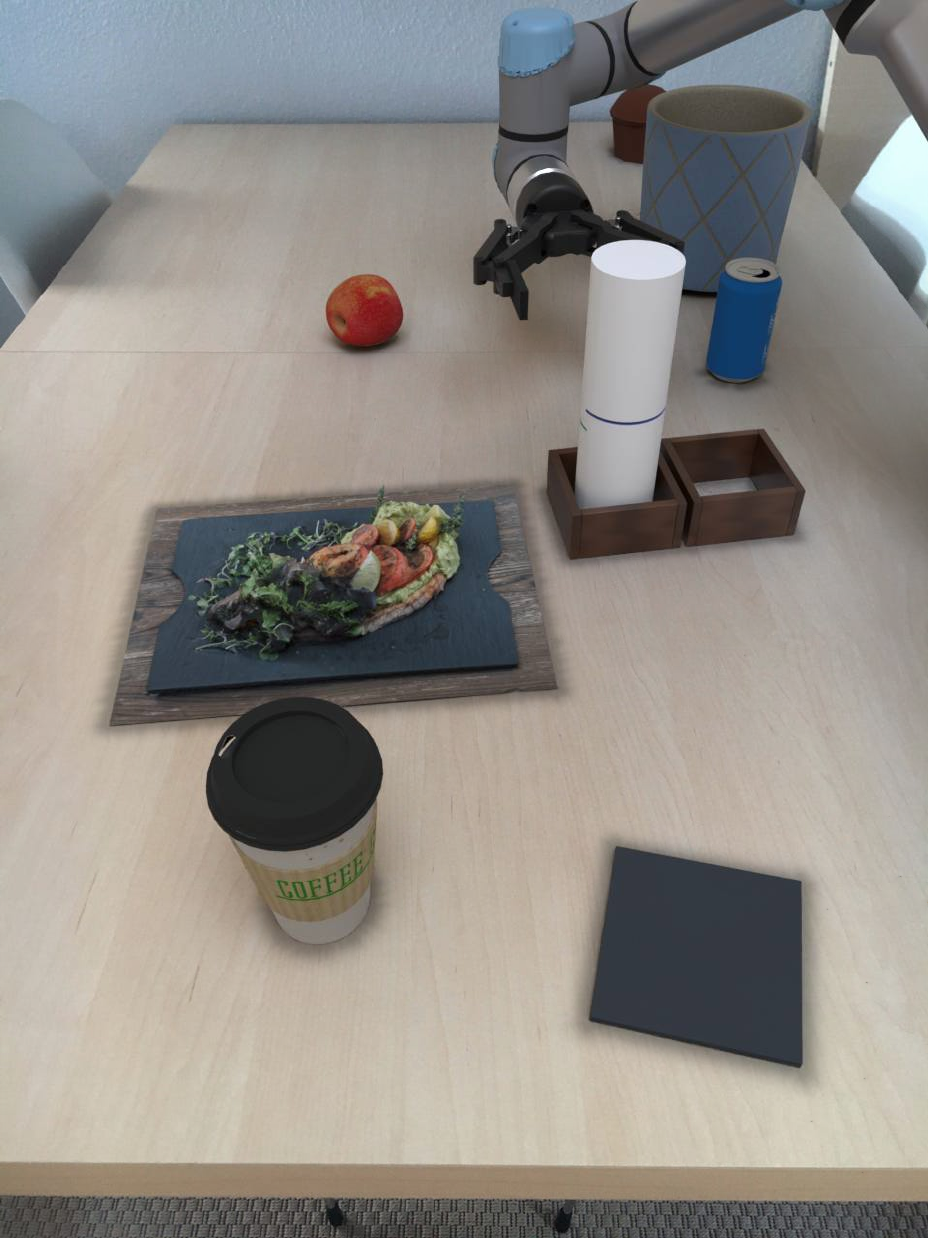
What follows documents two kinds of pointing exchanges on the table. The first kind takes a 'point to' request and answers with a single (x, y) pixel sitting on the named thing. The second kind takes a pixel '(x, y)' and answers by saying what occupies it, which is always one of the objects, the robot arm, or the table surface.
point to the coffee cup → (301, 811)
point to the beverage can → (743, 319)
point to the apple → (364, 310)
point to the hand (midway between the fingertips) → (599, 299)
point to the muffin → (632, 121)
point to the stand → (683, 498)
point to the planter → (721, 173)
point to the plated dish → (333, 604)
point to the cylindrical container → (626, 370)
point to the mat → (702, 956)
